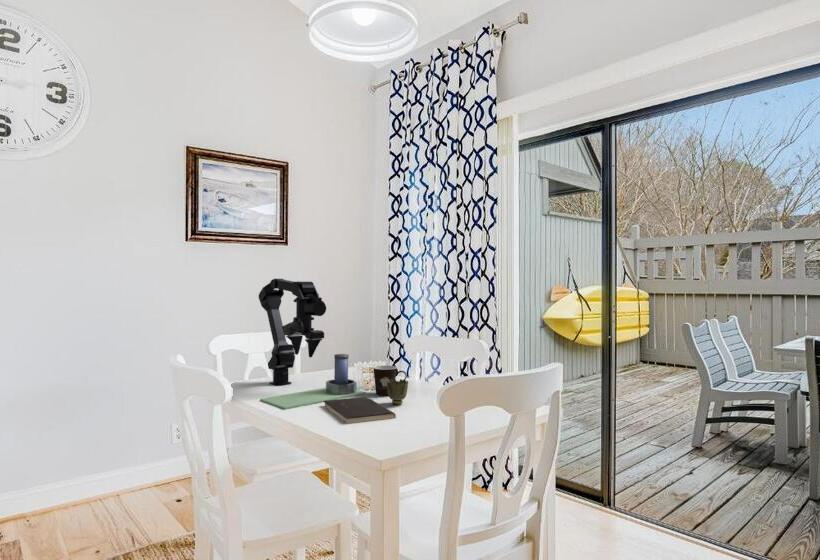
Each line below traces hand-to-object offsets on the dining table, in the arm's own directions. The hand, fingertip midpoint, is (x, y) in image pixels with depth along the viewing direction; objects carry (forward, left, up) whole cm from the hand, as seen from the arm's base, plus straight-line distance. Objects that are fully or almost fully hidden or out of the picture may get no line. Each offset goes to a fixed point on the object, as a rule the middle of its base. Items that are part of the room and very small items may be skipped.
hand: (303, 355), depth 197 cm
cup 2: (+39, +12, -13) cm, 43 cm away
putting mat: (+12, -3, -13) cm, 18 cm away
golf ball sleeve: (+13, +8, -12) cm, 19 cm away
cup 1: (+13, +8, -12) cm, 20 cm away
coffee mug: (+27, +19, -13) cm, 36 cm away
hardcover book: (+38, -4, -14) cm, 41 cm away
